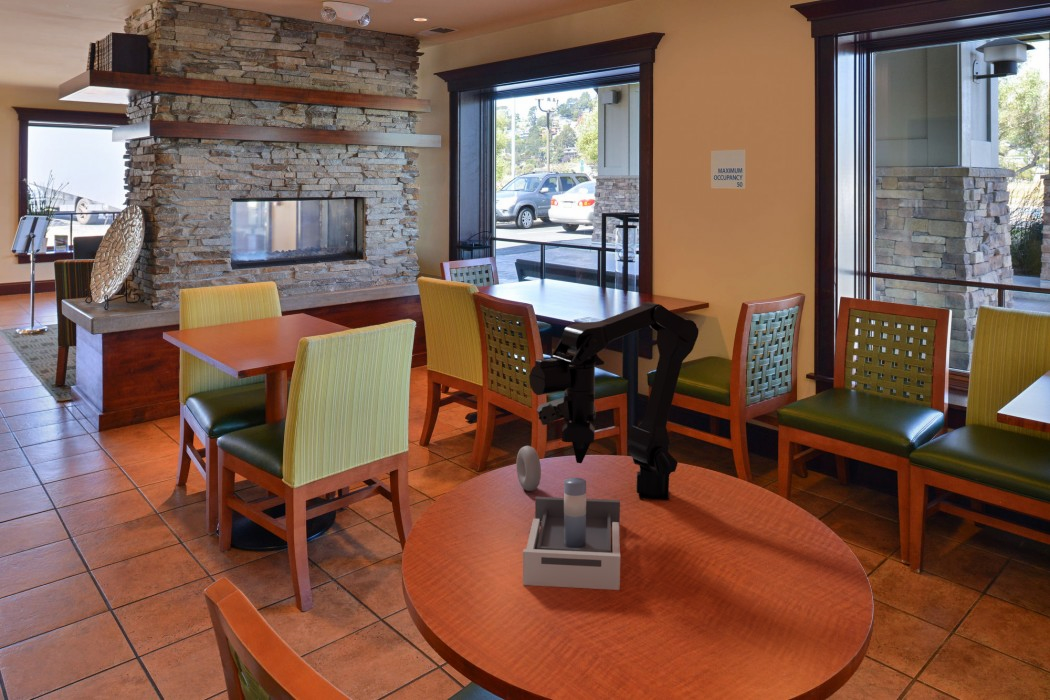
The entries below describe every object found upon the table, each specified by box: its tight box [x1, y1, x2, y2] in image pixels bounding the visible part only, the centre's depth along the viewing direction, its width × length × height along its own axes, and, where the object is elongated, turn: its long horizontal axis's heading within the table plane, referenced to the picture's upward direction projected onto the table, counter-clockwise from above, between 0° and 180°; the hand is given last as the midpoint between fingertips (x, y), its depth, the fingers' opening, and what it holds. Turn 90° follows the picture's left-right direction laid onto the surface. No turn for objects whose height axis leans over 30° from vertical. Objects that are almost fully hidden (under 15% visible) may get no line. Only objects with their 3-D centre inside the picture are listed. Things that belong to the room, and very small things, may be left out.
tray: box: [534, 496, 621, 553], centre depth 149 cm, size 18×17×5 cm
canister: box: [563, 477, 587, 548], centre depth 145 cm, size 4×4×12 cm
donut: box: [515, 445, 542, 492], centre depth 175 cm, size 10×4×10 cm, turn 18°
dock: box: [522, 518, 621, 591], centre depth 141 cm, size 18×16×6 cm
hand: (579, 462), depth 161 cm, fingers closed
